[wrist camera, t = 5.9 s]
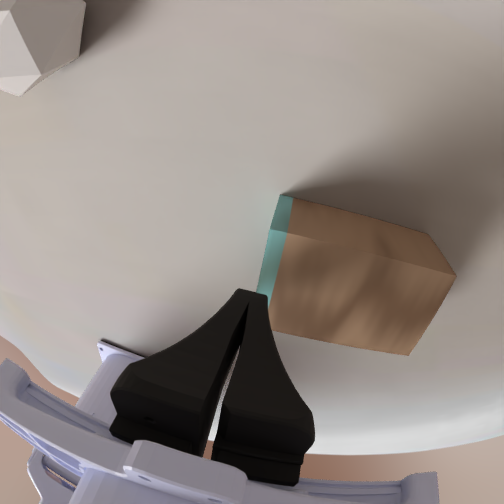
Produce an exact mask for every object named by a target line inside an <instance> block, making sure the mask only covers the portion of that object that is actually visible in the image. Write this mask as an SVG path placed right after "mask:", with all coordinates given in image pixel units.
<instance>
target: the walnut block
mask: <svg viewBox="0 0 504 504" xmlns="http://www.w3.org/2000/svg"><path fill="white" fill-rule="evenodd" d="M456 277H457V276H456V274H455V273H454V271H453V270H452V268H451V266H450V265H449V263H448V262H447V260H446V259H445V257H444V256H443V254H442V253H441V252H440V250H439V249H438V247H437V246H436V244H435V243H434V242H433V240H432V239H431V237H430V236H429V235H428V234H425V233H422V232H419V231H416V230H412V229H409V228H406V227H402V226H399V225H396V224H392V223H389V222H385V221H382V220H378V219H375V218H371V217H367V216H364V215H360V214H356V213H353V212H349V211H345V210H341V209H337V208H333V207H330V206H326V205H322V204H318V203H313V202H309V201H305V200H301V199H297V198H293V197H288V196H284V195H280V197H279V200H278V203H277V207H276V210H275V213H274V217H273V220H272V223H271V227H270V230H269V235H268V240H267V244H266V249H265V254H264V258H263V263H262V268H261V272H260V277H259V282H258V286H257V291H256V293H260V294H265V295H267V297H268V313H269V320H270V325H271V330H273V331H277V332H282V333H286V334H291V335H295V336H300V337H305V338H309V339H314V340H319V341H324V342H329V343H335V344H340V345H345V346H351V347H356V348H362V349H368V350H374V351H380V352H387V353H393V354H400V355H407V356H409V354H410V353H411V351H412V350H413V348H414V347H415V345H416V344H417V342H418V341H419V339H420V338H421V336H422V335H423V333H424V332H425V330H426V329H427V327H428V325H429V324H430V322H431V321H432V319H433V317H434V316H435V314H436V312H437V311H438V309H439V307H440V306H441V304H442V302H443V300H444V299H445V297H446V295H447V293H448V291H449V290H450V288H451V286H452V284H453V282H454V280H455V278H456Z"/></svg>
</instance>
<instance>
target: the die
mask: <svg viewBox="0 0 504 504" xmlns="http://www.w3.org/2000/svg"><path fill="white" fill-rule="evenodd" d="M85 8H86V3H85V2H84V1H83V0H0V90H2V91H5V92H8V93H11V94H14V95H17V96H19V97H20V96H22V95H23V94H24V93H26V92H27V91H28V90H30V89H31V88H32V87H34V86H35V85H37V84H38V83H39V82H41V81H42V80H44V79H45V78H47V77H48V76H49V75H51V74H52V73H54V72H56V71H57V70H59V69H60V68H62V67H63V66H65V65H66V64H68V63H70V62H71V61H73V60H75V59H76V58H78V57H79V52H80V43H81V35H82V27H83V20H84V14H85Z"/></svg>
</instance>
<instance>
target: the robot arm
mask: <svg viewBox="0 0 504 504" xmlns="http://www.w3.org/2000/svg"><path fill="white" fill-rule="evenodd" d="M97 346H98V349H99V353H100V356H101V359H102V365H101V366H100V368H99V369H98V371H97V372H96V374H95V375H94V377H93V378H92V380H91V381H90V383H89V385H88V386H87V388H86V389H85V391H84V392H83V394H82V396H81V397H80V399H79V400H78V402H77V404H76V405H75V407H74V406H72V405H70V404H69V403H66V402H65V401H63V400H61V399H60V398H58V397H56V396H55V395H53V394H51V393H49V392H48V391H46V390H44V389H43V388H41V387H40V386H38V385H37V384H35V383H33V382H32V381H31V379H30V378H29V375H28V374H27V373H26V371H25V370H24V369H23V368H21V367H20V366H19V365H17V364H16V363H14V362H13V361H11V360H10V359H8V358H6V359H5V360H4V361H3V363H2V364H1V365H0V420H1V421H2V422H3V423H4V424H6V425H7V426H8V427H9V428H11V429H12V430H13V431H14V432H16V433H17V434H18V435H19V436H21V437H22V438H23V439H25V440H26V441H27V442H29V443H30V444H31V445H33V446H34V448H33V450H32V455H31V456H30V458H29V460H28V462H27V465H28V468H27V471H28V474H29V476H30V478H31V480H32V482H33V484H34V486H35V487H36V489H37V491H38V493H39V495H40V497H41V500H40V502H39V503H38V504H439V490H438V480H437V472H425V473H415V474H411V475H409V476H407V477H405V478H404V479H402V480H401V481H375V482H361V481H359V482H358V481H334V480H319V479H309V478H300V477H299V475H300V467H301V465H302V464H303V459H304V454H305V453H306V452H307V451H308V449H309V448H310V447H311V446H312V445H313V443H314V441H315V427H314V420H313V415H312V412H311V410H310V409H309V408H308V406H307V405H306V404H305V402H304V401H303V400H302V398H301V397H300V395H299V393H298V392H297V390H296V389H295V387H294V385H293V383H292V382H291V380H290V378H289V376H288V374H287V372H286V370H285V368H284V366H283V363H282V361H281V359H280V356H279V353H278V351H277V348H276V345H275V341H274V338H273V334H272V330H271V325H270V320H269V313H268V297H267V295H265V294H260V293H256V292H252V291H248V290H244V289H240V288H239V289H237V290H236V291H235V293H234V294H233V295H232V297H231V298H230V299H229V300H228V301H227V302H226V304H225V305H224V306H223V307H222V308H221V309H220V310H219V311H218V312H217V313H216V314H215V315H214V316H213V317H212V318H210V319H209V320H208V321H207V322H206V323H205V324H203V325H202V326H201V327H200V328H198V329H197V330H196V331H195V332H193V333H192V334H190V335H189V336H187V337H186V338H184V339H183V340H181V341H179V342H178V343H176V344H174V345H173V346H171V347H169V348H167V349H165V350H163V351H161V352H158V353H156V354H154V355H152V356H150V357H147V358H144V357H141V356H138V355H136V354H133V353H130V352H128V351H125V350H122V349H120V348H117V347H115V346H112V345H110V344H107V343H105V342H102V341H98V343H97ZM239 346H240V350H239V355H238V358H237V361H236V364H235V367H234V370H233V373H232V376H231V379H230V382H229V385H228V388H227V391H226V394H225V397H224V399H223V402H222V408H221V413H220V419H219V424H218V430H217V434H216V437H215V440H214V444H213V450H212V456H211V460H209V459H205V458H202V457H203V454H204V450H205V447H206V443H207V440H208V436H209V433H210V429H211V426H212V423H213V419H214V416H215V412H216V409H217V405H218V402H219V399H220V395H221V392H222V389H223V386H224V383H225V381H226V378H227V376H228V373H229V371H230V369H231V366H232V364H233V361H234V359H235V356H236V354H237V351H238V349H239ZM43 455H44V457H43ZM47 467H48V468H49V469H51V470H52V471H54V472H55V473H57V474H58V475H60V476H61V477H63V478H65V479H66V480H68V481H69V482H71V483H73V484H74V485H76V486H77V487H76V488H75V487H73V486H72V485H70V484H68V483H67V482H65V481H63V480H62V479H60V478H58V477H57V476H56V475H54V474H53V473H51V472H50V471H49V470H48V469H47Z"/></svg>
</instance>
